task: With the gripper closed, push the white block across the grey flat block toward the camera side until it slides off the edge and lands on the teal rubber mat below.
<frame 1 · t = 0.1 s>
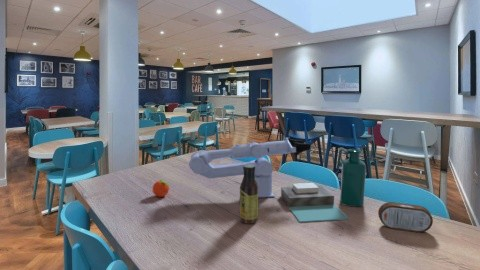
hand: (306, 144, 117), 22 cm above the table, tool horizontal, fingers open, 7 cm apart
grey flat block: (306, 200, 110), on the table
green bottle: (349, 202, 109), on the table
sauce bottle: (248, 221, 93), on the table
tin: (403, 229, 87), on the table
white block: (305, 190, 111), point 4 cm above the table, touching grey flat block
mat: (317, 213, 99), on the table
clementine: (162, 196, 116), on the table
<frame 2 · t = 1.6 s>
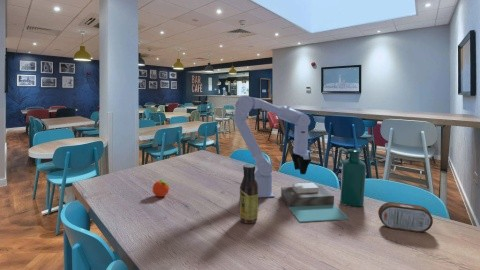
hand: (300, 171, 117), 10 cm above the table, tool pointing down, fingers open, 7 cm apart
nothing on the table moved.
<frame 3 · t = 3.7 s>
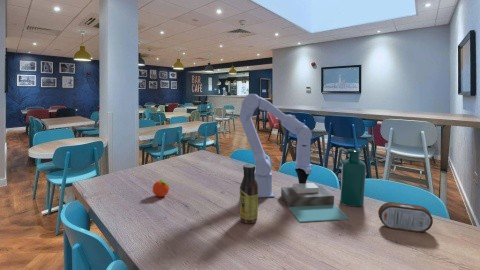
hand: (302, 185, 115), 5 cm above the table, tool pointing down, fingers closed
white block: (305, 190, 111), point 4 cm above the table, touching grey flat block, gripper
everything else where it was.
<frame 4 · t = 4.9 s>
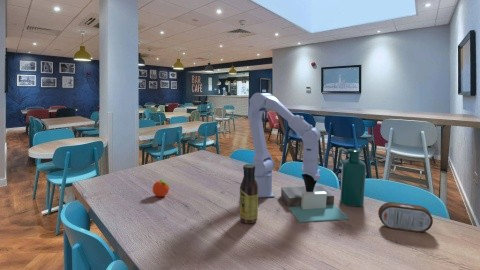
hand: (309, 192, 107), 5 cm above the table, tool pointing down, fingers closed
white block: (312, 198, 103), point 4 cm above the table, tilted 96°, touching mat
everything else where it was.
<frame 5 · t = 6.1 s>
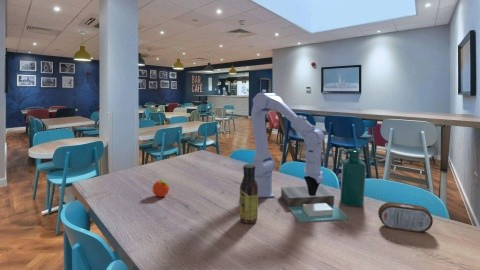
hand: (312, 195, 104), 5 cm above the table, tool pointing down, fingers closed
white block: (317, 206, 98), point 2 cm above the table, tilted 180°, touching mat
everything else where it was.
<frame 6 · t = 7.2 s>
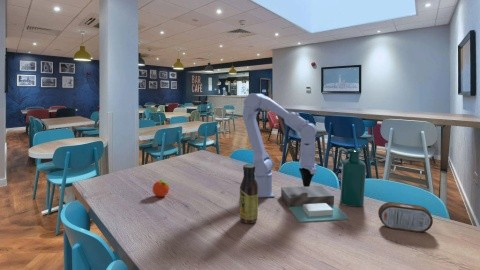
hand: (306, 186, 110), 6 cm above the table, tool pointing down, fingers closed
nothing on the table moved.
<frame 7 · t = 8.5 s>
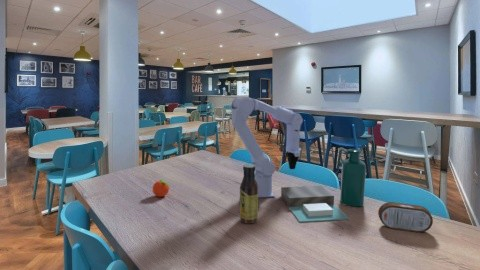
hand: (292, 168, 122), 10 cm above the table, tool pointing down, fingers closed
nothing on the table moved.
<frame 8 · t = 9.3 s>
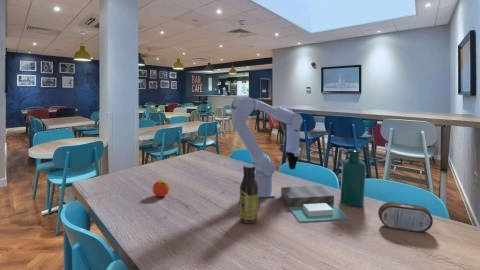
hand: (292, 168, 122), 10 cm above the table, tool pointing down, fingers closed
nothing on the table moved.
at the end: white block point 2.4 cm above the table; white block inside the target area on the mat (0.3 cm from its centre), point 2.4 cm above the mat's base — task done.
